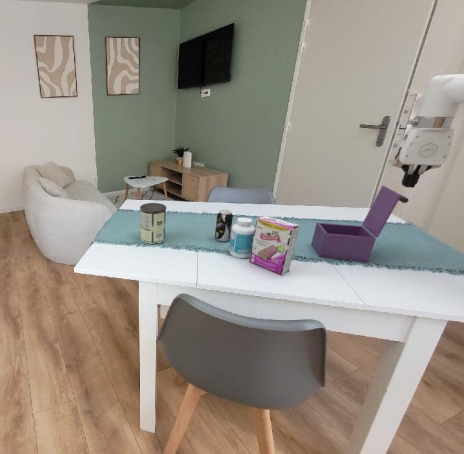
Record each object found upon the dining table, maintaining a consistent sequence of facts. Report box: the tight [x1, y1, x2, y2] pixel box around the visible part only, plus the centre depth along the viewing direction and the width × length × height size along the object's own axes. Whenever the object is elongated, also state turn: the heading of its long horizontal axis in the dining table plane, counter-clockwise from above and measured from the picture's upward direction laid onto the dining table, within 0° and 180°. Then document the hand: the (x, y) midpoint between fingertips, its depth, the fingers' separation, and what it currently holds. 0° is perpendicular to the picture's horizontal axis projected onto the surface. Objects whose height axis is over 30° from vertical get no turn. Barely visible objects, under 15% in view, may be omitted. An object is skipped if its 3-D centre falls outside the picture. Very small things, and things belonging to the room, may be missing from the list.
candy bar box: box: [248, 214, 301, 276], centre depth 94 cm, size 11×5×16 cm, turn 34°
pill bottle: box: [228, 216, 255, 259], centre depth 103 cm, size 8×7×14 cm
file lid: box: [361, 185, 410, 239], centre depth 93 cm, size 14×11×4 cm
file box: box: [311, 222, 377, 263], centre depth 101 cm, size 14×11×9 cm
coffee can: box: [139, 202, 167, 245], centre depth 118 cm, size 10×10×14 cm
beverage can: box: [214, 209, 234, 243], centre depth 115 cm, size 6×6×12 cm
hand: (407, 186), depth 89 cm, fingers closed
